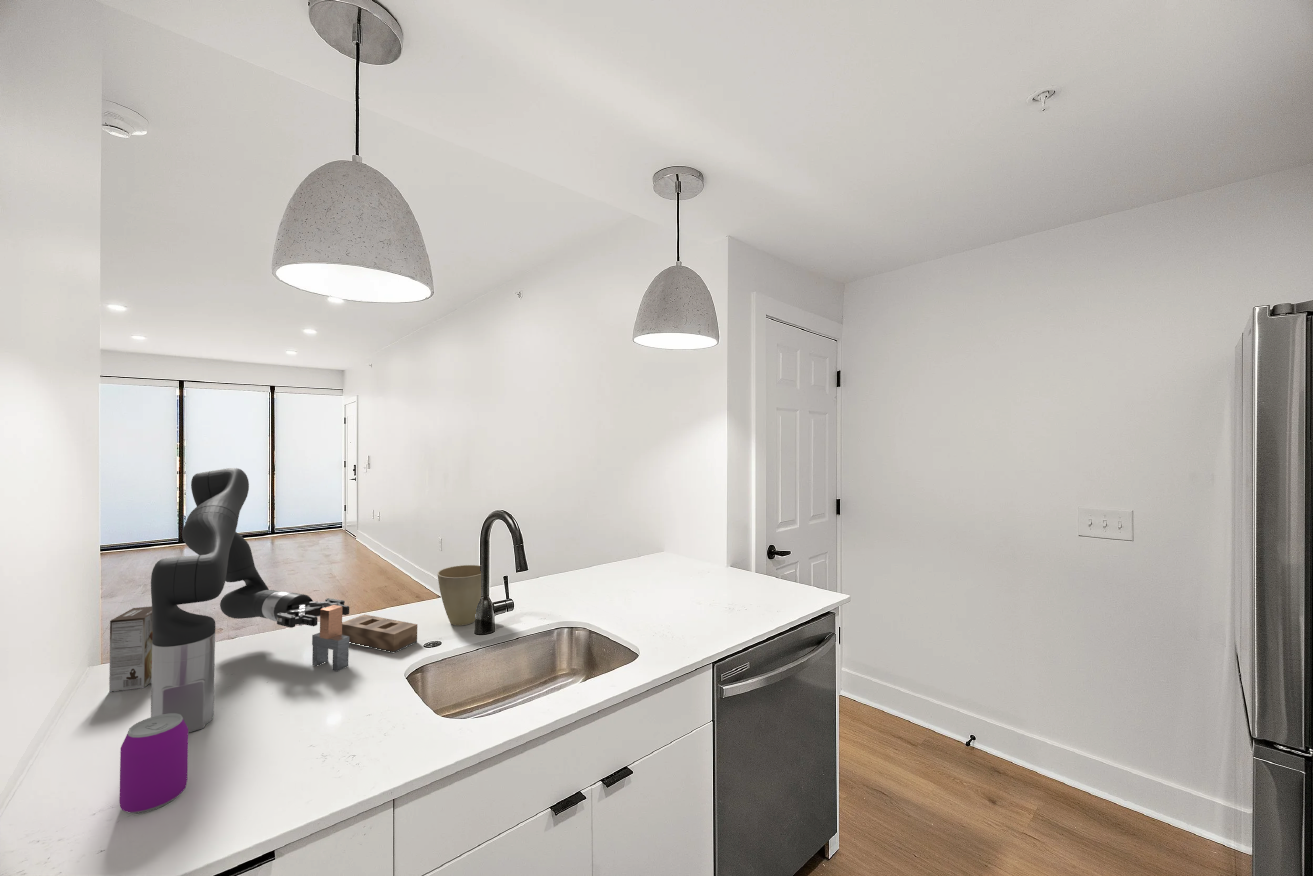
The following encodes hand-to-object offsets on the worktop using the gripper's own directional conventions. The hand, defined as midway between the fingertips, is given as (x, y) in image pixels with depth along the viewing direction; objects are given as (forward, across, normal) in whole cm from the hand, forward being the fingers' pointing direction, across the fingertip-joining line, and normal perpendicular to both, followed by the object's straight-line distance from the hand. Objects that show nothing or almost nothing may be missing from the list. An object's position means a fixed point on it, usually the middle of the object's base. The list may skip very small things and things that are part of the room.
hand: (332, 616), depth 129 cm
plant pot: (+8, +37, +13) cm, 40 cm away
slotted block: (-2, +16, +12) cm, 20 cm away
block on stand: (0, 0, +12) cm, 13 cm away
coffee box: (-33, -22, +13) cm, 42 cm away
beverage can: (+18, -44, +13) cm, 49 cm away
